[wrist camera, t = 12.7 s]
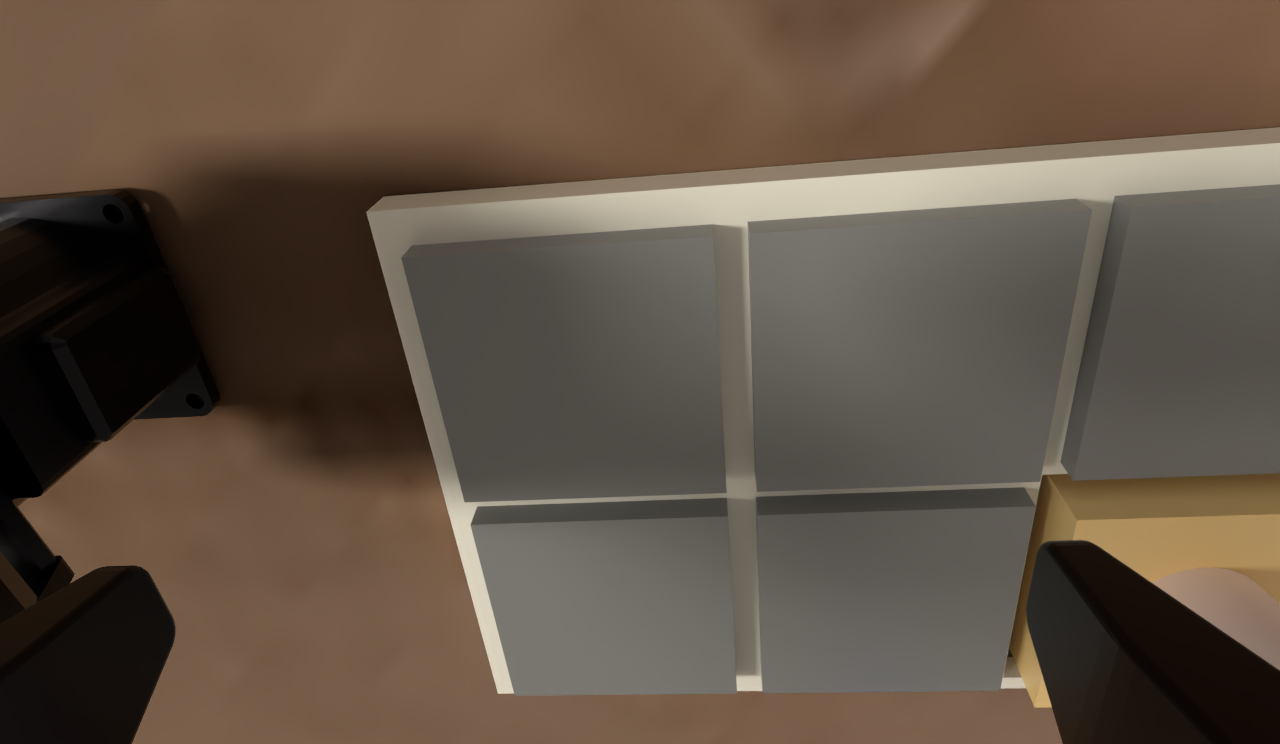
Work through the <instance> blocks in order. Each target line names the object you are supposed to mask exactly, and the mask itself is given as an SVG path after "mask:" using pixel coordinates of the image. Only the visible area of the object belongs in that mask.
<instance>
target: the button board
mask: <svg viewBox="0 0 1280 744" xmlns="http://www.w3.org/2000/svg"><path fill="white" fill-rule="evenodd" d="M366 213H367V217H368V220H369V224H370V228H371V231H372V235H373V239H374V242H375V246H376V250H377V253H378V257H379V261H380V264H381V268H382V272H383V275H384V279H385V282H386V286H387V290H388V293H389V297H390V301H391V304H392V308H393V312H394V315H395V319H396V323H397V326H398V330H399V334H400V337H401V341H402V345H403V348H404V352H405V355H406V359H407V363H408V366H409V370H410V374H411V377H412V381H413V385H414V388H415V392H416V396H417V399H418V403H419V407H420V410H421V414H422V418H423V421H424V425H425V428H426V432H427V436H428V439H429V443H430V447H431V450H432V454H433V458H434V461H435V465H436V469H437V472H438V476H439V480H440V483H441V487H442V490H443V494H444V498H445V501H446V505H447V509H448V512H449V516H450V520H451V523H452V527H453V531H454V534H455V538H456V542H457V545H458V549H459V553H460V556H461V560H462V563H463V567H464V571H465V574H466V578H467V582H468V585H469V589H470V593H471V596H472V600H473V604H474V607H475V611H476V615H477V618H478V622H479V626H480V629H481V633H482V636H483V640H484V644H485V647H486V651H487V655H488V658H489V662H490V666H491V669H492V673H493V677H494V680H495V684H496V688H497V691H498V694H501V693H514V695H515V696H529V695H629V694H729V693H737V691H762V692H763V693H829V692H929V691H1000V689H1001V688H1026V686H1025V684H1024V681H1023V679H1022V677H1021V675H1020V672H1019V670H1018V668H1017V665H1016V663H1015V661H1014V658H1013V656H1012V654H1011V651H1010V649H1009V648H1010V643H1011V637H1012V632H1013V627H1014V622H1015V617H1016V611H1017V606H1018V601H1019V596H1020V591H1021V586H1022V580H1023V575H1024V570H1025V565H1026V560H1027V554H1028V549H1029V544H1030V539H1031V534H1032V528H1033V523H1034V518H1035V513H1036V508H1037V502H1038V497H1039V492H1040V487H1041V482H1042V476H1043V475H1050V474H1069V476H1070V477H1071V479H1072V480H1073V481H1077V480H1105V479H1133V478H1161V477H1189V476H1217V475H1245V474H1273V473H1280V127H1276V128H1263V129H1250V130H1237V131H1224V132H1211V133H1198V134H1185V135H1172V136H1160V137H1147V138H1134V139H1121V140H1108V141H1095V142H1082V143H1069V144H1056V145H1043V146H1030V147H1017V148H1004V149H991V150H978V151H966V152H953V153H940V154H927V155H914V156H901V157H888V158H875V159H862V160H849V161H836V162H823V163H810V164H797V165H784V166H772V167H759V168H746V169H733V170H720V171H707V172H694V173H681V174H668V175H655V176H642V177H629V178H616V179H603V180H591V181H578V182H565V183H552V184H539V185H526V186H513V187H500V188H487V189H474V190H461V191H448V192H435V193H422V194H409V195H397V196H384V197H383V198H381V199H380V200H379V201H378V202H377V203H376V204H375V205H373V206H372V207H371V208H370V209H369V210H368V211H367V212H366Z"/></svg>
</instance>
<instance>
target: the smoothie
mask: <svg viewBox="0 0 1280 744" xmlns="http://www.w3.org/2000/svg"><path fill="white" fill-rule="evenodd" d="M1152 583H1153V584H1154V585H1156V586H1157V587H1159V588H1160V589H1162V590H1163V591H1165V592H1166V593H1168V594H1169V595H1171V596H1172V597H1173V598H1175V599H1176V600H1178V601H1179V602H1181V603H1182V604H1184V605H1185V606H1187V607H1188V608H1190V609H1191V610H1192V611H1194V612H1195V613H1197V614H1198V615H1200V616H1201V617H1203V618H1204V619H1206V620H1207V621H1209V622H1210V623H1211V624H1213V625H1214V626H1216V627H1217V628H1219V629H1220V630H1222V631H1223V632H1225V633H1226V634H1228V635H1229V636H1230V637H1232V638H1233V639H1235V640H1236V641H1238V642H1239V643H1241V644H1242V645H1244V646H1245V647H1247V648H1248V649H1249V650H1251V651H1252V652H1254V653H1255V654H1257V655H1258V656H1260V657H1261V658H1263V659H1264V660H1266V661H1267V662H1268V663H1270V664H1271V665H1273V666H1274V667H1276V668H1277V669H1279V670H1280V604H1279V603H1278V602H1277V601H1276V600H1275V599H1274V598H1273V597H1271V596H1270V595H1269V594H1268V593H1267V592H1266V591H1265V590H1264V589H1263V588H1261V587H1260V586H1259V585H1258V584H1257V583H1256V582H1255V581H1254V580H1252V579H1251V578H1249V577H1248V576H1246V575H1244V574H1242V573H1239V572H1237V571H1233V570H1229V569H1223V568H1196V569H1190V570H1185V571H1180V572H1177V573H1173V574H1170V575H1168V576H1165V577H1163V578H1160V579H1158V580H1156V581H1154V582H1152Z"/></svg>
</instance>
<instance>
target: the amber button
mask: <svg viewBox="0 0 1280 744" xmlns="http://www.w3.org/2000/svg"><path fill="white" fill-rule="evenodd" d="M1066 540H1084V541H1089V542H1092V543H1094V544H1096V545H1097V546H1099V547H1100V548H1102V549H1103V550H1105V551H1106V552H1108V553H1109V554H1111V555H1112V556H1114V557H1115V558H1116V559H1118V560H1119V561H1121V562H1122V563H1124V564H1125V565H1127V566H1128V567H1130V568H1131V569H1133V570H1134V571H1135V572H1137V573H1138V574H1140V575H1141V576H1143V577H1144V578H1146V579H1147V580H1149V581H1150V582H1154V581H1156V580H1158V579H1160V578H1163V577H1165V576H1168V575H1170V574H1173V573H1177V572H1180V571H1185V570H1190V569H1196V568H1223V569H1229V570H1233V571H1237V572H1239V573H1242V574H1244V575H1246V576H1248V577H1249V578H1251V579H1252V580H1254V581H1255V582H1256V583H1257V584H1258V585H1259V586H1260V587H1261V588H1263V589H1264V590H1265V591H1266V592H1267V593H1268V594H1269V595H1270V596H1271V597H1273V598H1274V599H1275V600H1276V601H1277V602H1278V603H1279V604H1280V473H1273V474H1245V475H1217V476H1189V477H1161V478H1133V479H1105V480H1077V481H1073V480H1072V479H1071V477H1070V476H1069V474H1050V475H1043V476H1042V482H1041V487H1040V492H1039V497H1038V502H1037V508H1036V513H1035V518H1034V523H1033V528H1032V534H1031V539H1030V544H1029V549H1028V554H1027V560H1026V565H1025V570H1024V575H1023V580H1022V586H1021V591H1020V596H1019V601H1018V606H1017V611H1016V617H1015V622H1014V627H1013V632H1012V637H1011V643H1010V648H1009V649H1010V651H1011V654H1012V656H1013V658H1014V661H1015V663H1016V665H1017V668H1018V670H1019V672H1020V675H1021V677H1022V679H1023V681H1024V684H1025V686H1026V688H1027V691H1028V693H1029V695H1030V698H1031V700H1032V702H1033V705H1034V707H1052V706H1051V703H1050V699H1049V696H1048V693H1047V689H1046V686H1045V683H1044V679H1043V676H1042V673H1041V669H1040V666H1039V663H1038V659H1037V656H1036V653H1035V649H1034V646H1033V643H1032V639H1031V636H1030V633H1029V629H1028V624H1027V617H1026V605H1027V599H1028V594H1029V589H1030V584H1031V579H1032V574H1033V569H1034V564H1035V559H1036V554H1037V551H1038V549H1039V547H1040V546H1041V545H1042V544H1043V543H1045V542H1047V541H1066Z"/></svg>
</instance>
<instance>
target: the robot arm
mask: <svg viewBox="0 0 1280 744" xmlns="http://www.w3.org/2000/svg"><path fill="white" fill-rule="evenodd" d="M113 205H115V206H116V207H118V208H119V209H120V210H121V212H122V213H123V218H122V217H120V216H119V215H117V214H116V212H115V211H114V208H113ZM194 394H197V395H198V396H200V397H201V398H202V400H203V401H201V400H199V399H197V398H196V396H195V395H194ZM219 400H220V396H219V392H218V390H217V387H216V385H215V383H214V380H213V378H212V375H211V373H210V371H209V368H208V366H207V363H206V361H205V359H204V356H203V354H202V351H201V348H200V346H199V344H198V341H197V339H196V336H195V334H194V332H193V329H192V327H191V324H190V322H189V320H188V317H187V315H186V312H185V310H184V308H183V305H182V303H181V300H180V298H179V296H178V293H177V291H176V288H175V286H174V284H173V281H172V279H171V276H170V275H169V272H168V270H167V268H166V265H165V263H164V260H163V258H162V256H161V253H160V251H159V248H158V246H157V244H156V241H155V239H154V236H153V234H152V232H151V229H150V227H149V224H148V222H147V220H146V217H145V215H144V212H143V210H142V208H141V206H140V204H139V203H138V201H137V200H136V199H135V198H134V197H133V196H132V195H131V194H129V193H127V192H124V191H122V190H105V191H93V192H80V193H68V194H56V195H43V196H31V197H19V198H6V199H0V744H132V742H133V739H134V737H135V735H136V732H137V730H138V727H139V725H140V723H141V720H142V718H143V715H144V713H145V711H146V708H147V706H148V703H149V701H150V699H151V696H152V694H153V691H154V689H155V687H156V684H157V682H158V680H159V677H160V675H161V672H162V670H163V668H164V665H165V663H166V660H167V658H168V656H169V653H170V651H171V648H172V646H173V643H174V639H175V622H174V619H173V617H172V615H171V613H170V611H169V609H168V607H167V605H166V604H165V602H164V600H163V598H162V596H161V594H160V592H159V590H158V589H157V587H156V585H155V583H154V581H153V579H152V577H151V576H150V574H149V573H148V572H147V571H146V570H145V569H143V568H142V567H138V566H107V567H101V568H98V569H95V570H93V571H91V572H90V573H88V574H86V575H84V576H83V577H81V578H79V579H77V580H76V581H74V582H72V583H70V582H71V580H72V578H73V576H74V572H73V571H72V570H71V568H70V567H69V566H68V565H67V563H66V562H65V561H64V559H63V558H62V557H61V556H55V555H54V554H53V553H52V551H51V550H50V549H49V548H48V546H47V545H46V544H45V542H44V541H43V540H42V538H41V537H40V536H39V534H38V533H37V532H36V531H35V529H34V528H33V527H32V525H31V524H30V523H29V521H28V520H27V519H26V517H25V516H24V515H23V513H22V512H21V511H20V510H19V508H18V506H19V505H20V504H21V503H23V502H24V501H25V500H26V499H27V498H34V497H38V496H41V495H42V494H43V493H45V492H46V491H47V490H48V489H49V488H50V487H51V486H53V485H54V484H55V483H56V482H57V481H58V480H59V479H61V478H62V477H63V476H64V475H65V474H66V473H67V472H69V471H70V470H71V469H72V468H73V467H74V466H75V465H77V464H78V463H79V462H80V461H81V460H82V459H83V458H85V457H86V456H87V455H88V454H89V453H90V452H91V451H93V450H94V449H95V448H96V447H97V446H98V445H100V444H101V443H102V442H106V441H108V440H110V439H112V438H113V437H114V436H115V435H116V434H117V433H119V432H120V431H121V430H122V429H123V428H124V427H125V426H127V425H128V424H129V423H130V422H131V421H132V420H133V419H151V418H172V417H192V416H204V415H207V414H208V413H210V412H211V411H212V410H213V409H214V408H215V407H216V406H217V405H218V404H219ZM1026 617H1027V624H1028V629H1029V633H1030V636H1031V639H1032V643H1033V646H1034V649H1035V653H1036V656H1037V659H1038V663H1039V666H1040V669H1041V673H1042V676H1043V679H1044V683H1045V686H1046V689H1047V693H1048V696H1049V699H1050V703H1051V706H1052V709H1053V713H1054V716H1055V719H1056V723H1057V726H1058V729H1059V733H1060V736H1061V739H1062V743H1063V744H1280V670H1279V669H1277V668H1276V667H1274V666H1273V665H1271V664H1270V663H1268V662H1267V661H1266V660H1264V659H1263V658H1261V657H1260V656H1258V655H1257V654H1255V653H1254V652H1252V651H1251V650H1249V649H1248V648H1247V647H1245V646H1244V645H1242V644H1241V643H1239V642H1238V641H1236V640H1235V639H1233V638H1232V637H1230V636H1229V635H1228V634H1226V633H1225V632H1223V631H1222V630H1220V629H1219V628H1217V627H1216V626H1214V625H1213V624H1211V623H1210V622H1209V621H1207V620H1206V619H1204V618H1203V617H1201V616H1200V615H1198V614H1197V613H1195V612H1194V611H1192V610H1191V609H1190V608H1188V607H1187V606H1185V605H1184V604H1182V603H1181V602H1179V601H1178V600H1176V599H1175V598H1173V597H1172V596H1171V595H1169V594H1168V593H1166V592H1165V591H1163V590H1162V589H1160V588H1159V587H1157V586H1156V585H1154V584H1153V583H1152V582H1150V581H1149V580H1147V579H1146V578H1144V577H1143V576H1141V575H1140V574H1138V573H1137V572H1135V571H1134V570H1133V569H1131V568H1130V567H1128V566H1127V565H1125V564H1124V563H1122V562H1121V561H1119V560H1118V559H1116V558H1115V557H1114V556H1112V555H1111V554H1109V553H1108V552H1106V551H1105V550H1103V549H1102V548H1100V547H1099V546H1097V545H1096V544H1094V543H1092V542H1089V541H1084V540H1066V541H1047V542H1045V543H1043V544H1042V545H1041V546H1040V547H1039V549H1038V551H1037V554H1036V559H1035V564H1034V569H1033V574H1032V579H1031V584H1030V589H1029V594H1028V599H1027V605H1026Z"/></svg>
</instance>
